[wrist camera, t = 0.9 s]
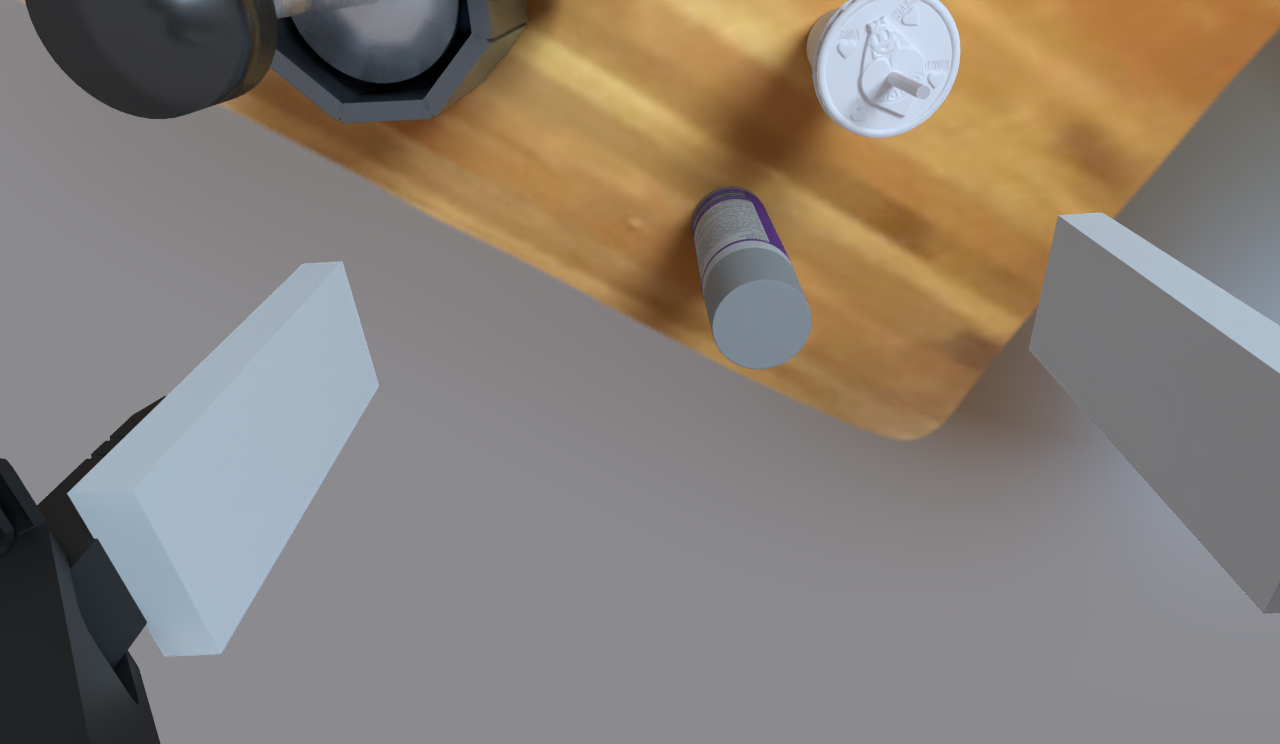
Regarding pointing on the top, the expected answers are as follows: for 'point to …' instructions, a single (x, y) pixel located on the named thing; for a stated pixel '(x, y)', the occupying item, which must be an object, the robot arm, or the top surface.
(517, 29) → the mug
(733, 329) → the container
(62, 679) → the robot arm
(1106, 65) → the top surface
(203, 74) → the plunger
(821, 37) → the smoothie
